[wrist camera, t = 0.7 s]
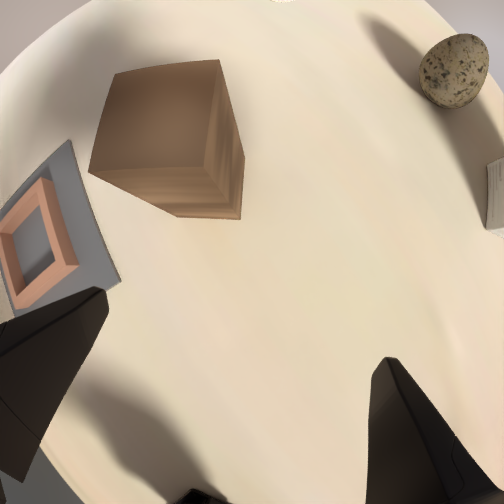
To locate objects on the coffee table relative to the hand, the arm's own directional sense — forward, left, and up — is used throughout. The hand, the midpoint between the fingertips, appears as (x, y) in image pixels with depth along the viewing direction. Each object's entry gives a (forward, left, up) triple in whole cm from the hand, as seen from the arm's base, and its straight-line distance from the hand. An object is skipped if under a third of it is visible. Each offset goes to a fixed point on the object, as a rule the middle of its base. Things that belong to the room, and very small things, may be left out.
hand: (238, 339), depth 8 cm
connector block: (+5, +8, -13) cm, 16 cm away
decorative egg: (+26, -4, -13) cm, 29 cm away
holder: (-9, +21, -13) cm, 26 cm away
